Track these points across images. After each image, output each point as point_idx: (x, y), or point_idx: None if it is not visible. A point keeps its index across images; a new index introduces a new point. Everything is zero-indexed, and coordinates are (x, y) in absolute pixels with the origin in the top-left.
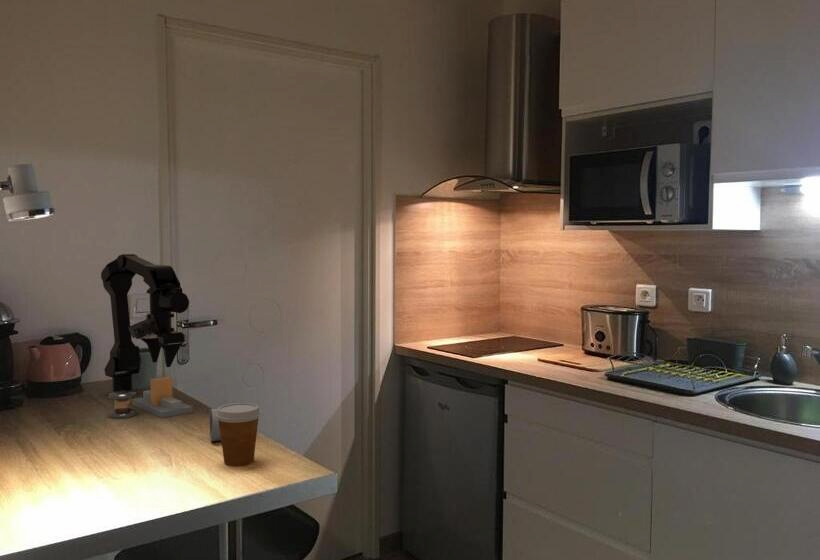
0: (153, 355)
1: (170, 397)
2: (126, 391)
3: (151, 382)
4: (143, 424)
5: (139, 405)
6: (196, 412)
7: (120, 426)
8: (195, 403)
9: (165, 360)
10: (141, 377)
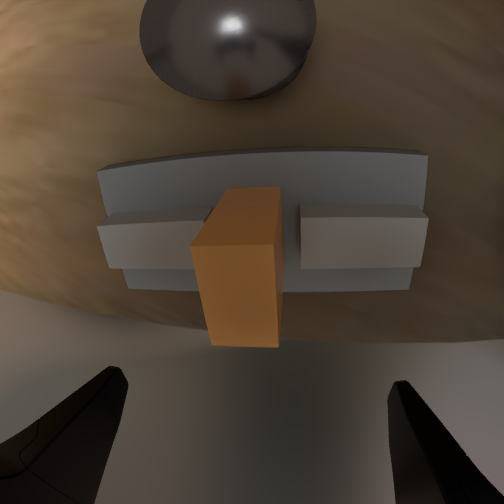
0: (408, 437)
1: None
2: (263, 51)
3: (254, 233)
4: (65, 92)
5: (339, 148)
6: None
7: (82, 19)
8: None
9: (79, 400)
10: None
